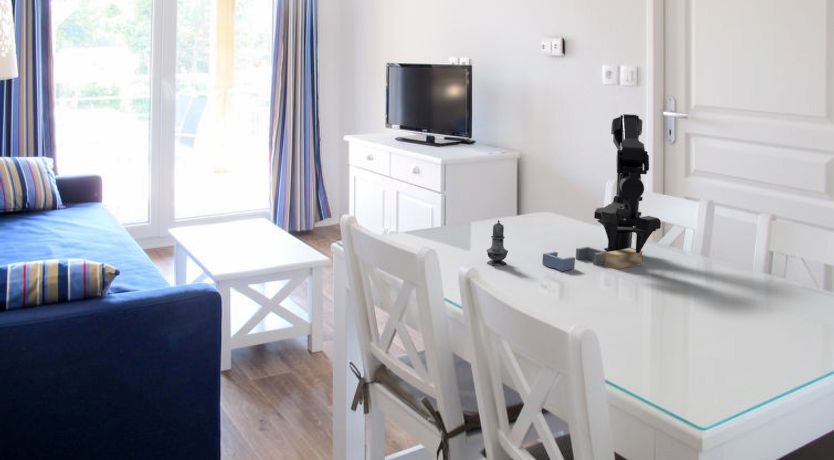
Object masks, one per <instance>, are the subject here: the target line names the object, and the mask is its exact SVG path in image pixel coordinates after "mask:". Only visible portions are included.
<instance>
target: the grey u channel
mask: <svg viewBox="0 0 834 460" xmlns="http://www.w3.org/2000/svg"><path fill="white" fill-rule="evenodd" d="M606 252H607V251H606V250H601V249H598V248H594V247H590V246H583V247H578V248H576V250H575V260H577V261H580V260H584V259H585V260H586V259H588V260H592V264H593V266H598V265H605V258H606Z"/></svg>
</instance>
